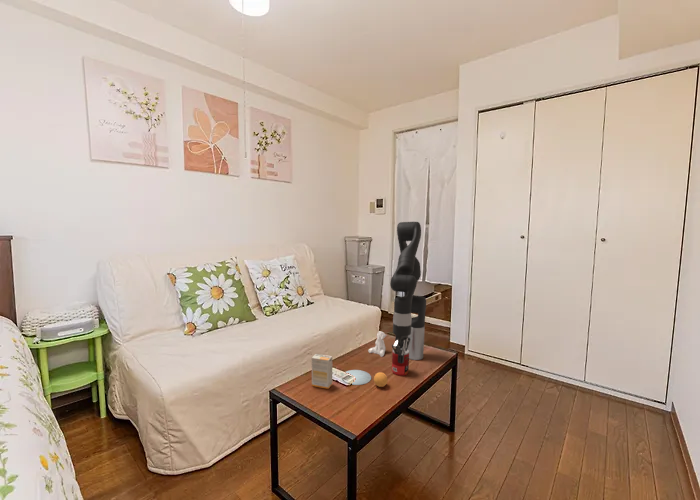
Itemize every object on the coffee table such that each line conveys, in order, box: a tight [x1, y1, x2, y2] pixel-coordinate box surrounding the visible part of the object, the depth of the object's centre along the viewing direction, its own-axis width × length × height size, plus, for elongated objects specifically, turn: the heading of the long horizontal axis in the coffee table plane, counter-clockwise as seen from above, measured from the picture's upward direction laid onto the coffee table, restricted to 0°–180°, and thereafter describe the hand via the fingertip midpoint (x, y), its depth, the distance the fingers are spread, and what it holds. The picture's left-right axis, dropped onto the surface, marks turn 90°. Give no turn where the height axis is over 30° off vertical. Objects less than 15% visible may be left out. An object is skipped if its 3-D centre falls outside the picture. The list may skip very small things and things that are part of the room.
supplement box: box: [311, 353, 333, 390], centre depth 143 cm, size 8×5×13 cm, turn 71°
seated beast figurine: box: [367, 330, 387, 358], centre depth 179 cm, size 10×9×12 cm
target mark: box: [345, 369, 372, 386], centre depth 151 cm, size 14×14×1 cm
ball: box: [373, 372, 388, 388], centre depth 143 cm, size 6×6×6 cm
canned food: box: [391, 349, 410, 377], centre depth 156 cm, size 8×8×11 cm
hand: (400, 362), depth 137 cm, fingers closed
